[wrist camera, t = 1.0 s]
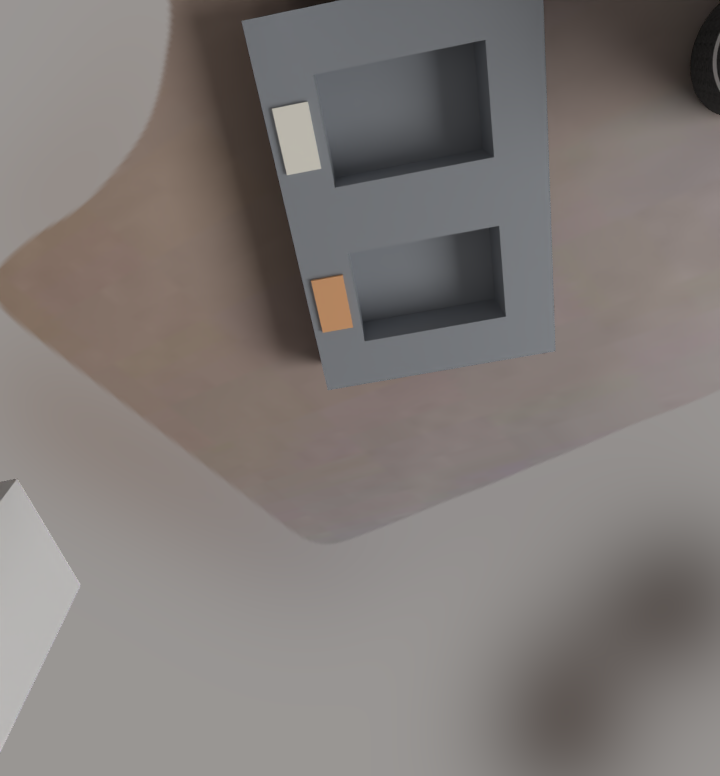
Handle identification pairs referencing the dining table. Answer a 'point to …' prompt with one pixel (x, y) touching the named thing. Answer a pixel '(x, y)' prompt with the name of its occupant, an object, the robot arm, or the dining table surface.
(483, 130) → the socket board
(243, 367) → the dining table surface
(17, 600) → the robot arm
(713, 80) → the coffee cup
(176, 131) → the dining table surface
